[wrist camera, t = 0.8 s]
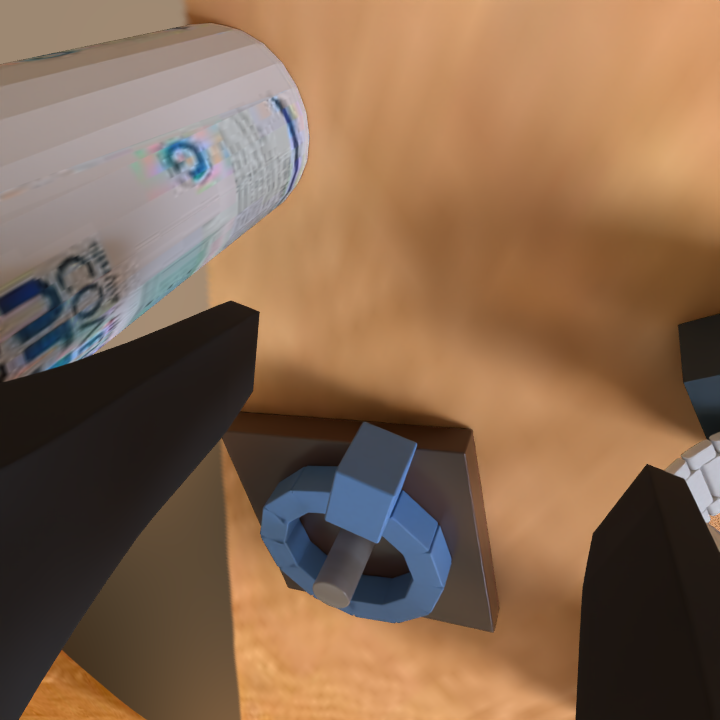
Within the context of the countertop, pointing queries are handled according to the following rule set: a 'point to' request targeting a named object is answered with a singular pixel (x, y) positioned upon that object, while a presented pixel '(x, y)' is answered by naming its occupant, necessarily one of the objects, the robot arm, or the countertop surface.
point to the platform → (422, 483)
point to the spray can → (132, 178)
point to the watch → (702, 414)
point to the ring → (362, 525)
